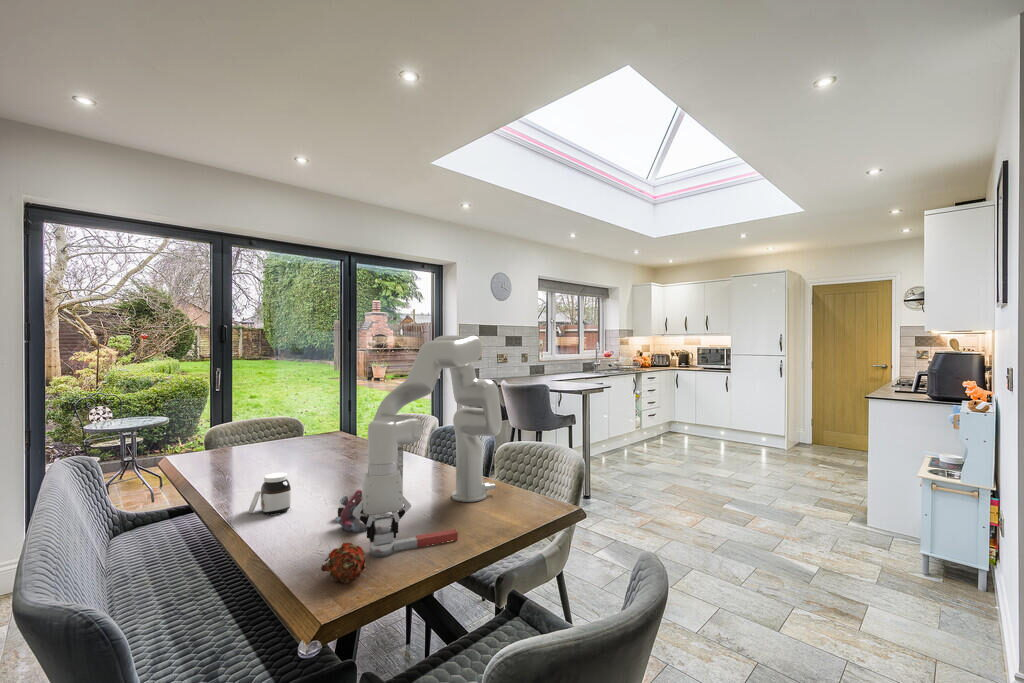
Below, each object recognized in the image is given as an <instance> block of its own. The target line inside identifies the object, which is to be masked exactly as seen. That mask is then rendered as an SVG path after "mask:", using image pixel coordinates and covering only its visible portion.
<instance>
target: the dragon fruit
mask: <svg viewBox="0 0 1024 683" xmlns="http://www.w3.org/2000/svg"><path fill="white" fill-rule="evenodd" d="M364 556H365V552H364V550H363V548H362V547H361V546H360V545H354V544H353V543H352V542H343V543H342V544H341V546H340V547H339V548H334V549H332V550H331V551H330V552H329V553H328V556H326V558H325V559H324V562H326V563H325V564H321V567H320V571H321V572H323V573H325V572H329V578H330V579H331V581H334V582H338V581H340V582H341V583H344V584H345V583H348V584H349V583H352V582H353V581H355V580H359V578H360V576H361V574H362V571H364V569H367V562H366V557H364Z"/></svg>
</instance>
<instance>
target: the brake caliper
mask: <svg viewBox="0 0 1024 683" xmlns="http://www.w3.org/2000/svg"><path fill="white" fill-rule="evenodd" d="M342 496H343V497H342V498H340V499H339V500H340V501H339V502H340V504H341V506H343V507H344V509H343V511H342V513H341V517H338V516H335V518H334V519H335V520H336V522H337V524H339V525H340V526H341V527H342V529H343V530H344V531H346V532H347V531H348V532H353V533H362V532H363V531H367V525H365V524H364V523H363V522H362V521H360V520H359V519H357V518H356V517H354V516H353V511H354V510H355V509H356V507H357V506H358V505H359V503H360V502H361V501H362V489H357V490H356V491H355V492H354V494H353V495H352V496H351V498H350V499H349V497H348V495H345V494H343V495H342ZM360 513H361V514H363V515H364V516H366V517H367V515H365V514H364V512H363V509H362V510H361V512H360ZM376 515H377V514H376ZM361 531H362V532H361Z"/></svg>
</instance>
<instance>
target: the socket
mask: <svg viewBox="0 0 1024 683" xmlns="http://www.w3.org/2000/svg"><path fill="white" fill-rule="evenodd" d="M372 525H373V543H374V545H379V544H385V543H391V542H394V541H395V538H394V532H393V515H392V513H390V512H389V513H382V514H377V515H374V517H373V521H372Z"/></svg>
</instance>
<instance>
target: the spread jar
mask: <svg viewBox="0 0 1024 683" xmlns="http://www.w3.org/2000/svg"><path fill="white" fill-rule="evenodd" d="M288 478H289V477H288V473H287V472H273V473H269V474H265V475H264V476H263V483H262V485H261V488H260V491H259V490H256V491H255V494H254V495H253V498H252V500H251V503H250V505H249V508H248V512H247V513H248V514H254V512H253V511H255V509H256V506H257V504H258V501H259V499H260V508H261V511H262V512H261V513H262V514H264V515H266V514H268V515H267V516H272V515H271V514H276V515H280V514H279V513H281V514H284V513H286V512H287V511H289V509H291V502H292V491H291V490H292V489H291V483H290V481H289V480H288ZM285 511H286V512H285ZM283 512H284V513H283Z"/></svg>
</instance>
